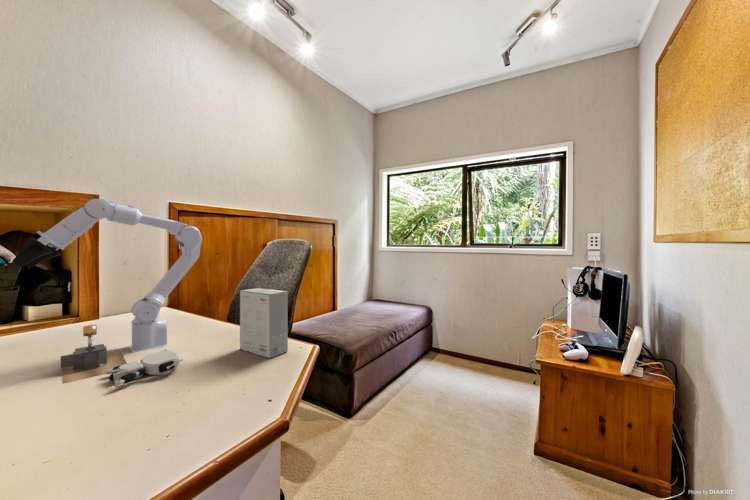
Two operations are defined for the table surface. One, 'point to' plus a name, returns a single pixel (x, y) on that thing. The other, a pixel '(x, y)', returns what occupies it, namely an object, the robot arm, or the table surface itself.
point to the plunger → (89, 333)
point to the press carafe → (86, 358)
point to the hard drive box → (264, 321)
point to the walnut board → (112, 362)
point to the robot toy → (145, 367)
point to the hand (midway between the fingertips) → (20, 265)
